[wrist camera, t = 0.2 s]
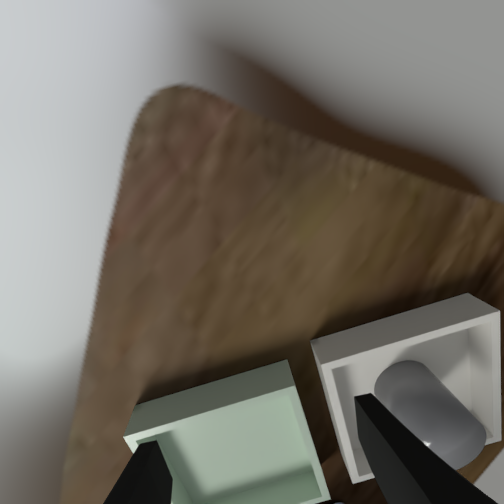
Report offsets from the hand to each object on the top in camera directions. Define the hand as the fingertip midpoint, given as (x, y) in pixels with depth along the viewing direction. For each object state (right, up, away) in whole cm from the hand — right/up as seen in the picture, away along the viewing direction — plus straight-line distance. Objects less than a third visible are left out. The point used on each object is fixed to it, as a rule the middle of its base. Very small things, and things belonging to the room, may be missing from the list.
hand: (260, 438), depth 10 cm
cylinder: (+11, -4, +12) cm, 17 cm away
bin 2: (+11, -3, +12) cm, 17 cm away
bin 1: (-2, -9, +13) cm, 16 cm away
